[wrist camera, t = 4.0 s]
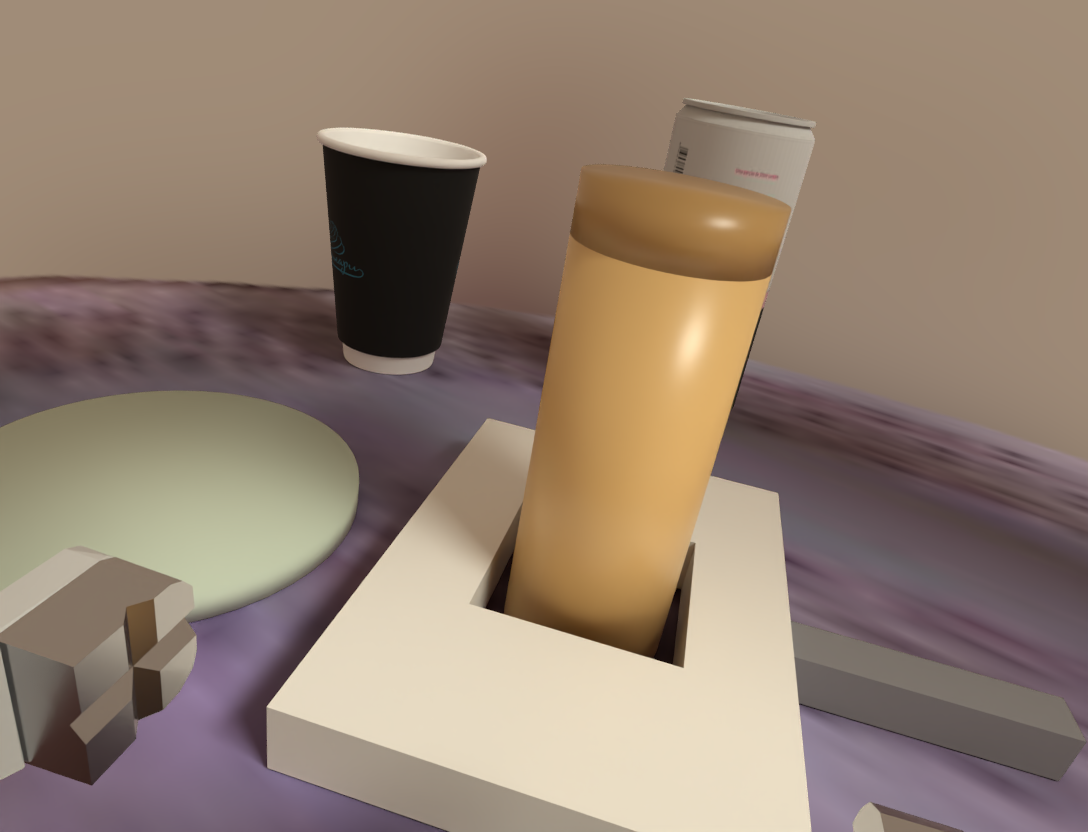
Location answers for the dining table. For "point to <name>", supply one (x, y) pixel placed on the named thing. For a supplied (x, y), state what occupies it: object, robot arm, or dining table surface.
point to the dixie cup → (395, 241)
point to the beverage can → (742, 154)
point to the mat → (178, 491)
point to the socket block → (608, 684)
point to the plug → (637, 395)
